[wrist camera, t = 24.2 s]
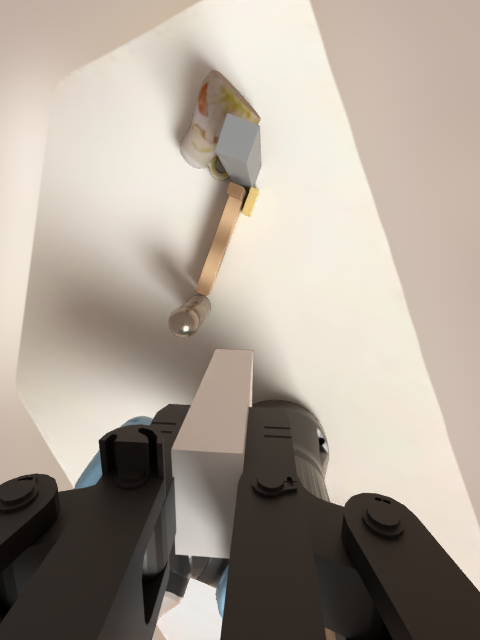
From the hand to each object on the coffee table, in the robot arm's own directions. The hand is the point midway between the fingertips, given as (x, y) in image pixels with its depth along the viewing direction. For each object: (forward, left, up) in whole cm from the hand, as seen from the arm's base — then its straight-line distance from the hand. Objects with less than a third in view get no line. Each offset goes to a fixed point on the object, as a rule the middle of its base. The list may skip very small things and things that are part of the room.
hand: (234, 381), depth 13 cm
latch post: (+11, +6, -32) cm, 35 cm away
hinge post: (-6, +6, -32) cm, 34 cm away
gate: (+3, +6, -32) cm, 33 cm away
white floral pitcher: (+15, +11, -33) cm, 38 cm away
